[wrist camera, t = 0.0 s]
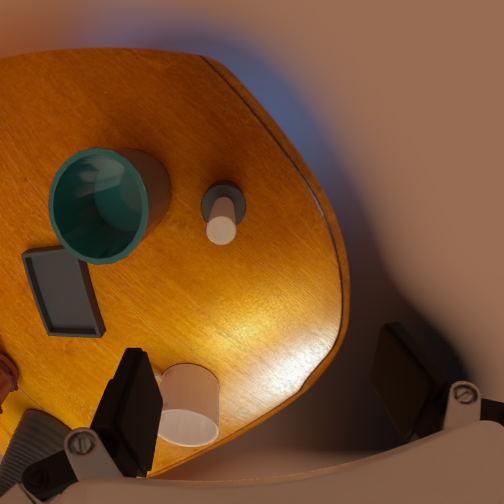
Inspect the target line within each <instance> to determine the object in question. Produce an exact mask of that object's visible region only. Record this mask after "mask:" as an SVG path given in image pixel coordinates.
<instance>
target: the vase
mask: <svg viewBox="0 0 504 504" xmlns="http://www.w3.org/2000/svg"><path fill="white" fill-rule="evenodd" d="M70 431H71V430H69V429H68V428H67V427H66V426H65V425H64V424H62V423H61V422H59V421H58V420H56V419H55V418H53V417H51V416H50V415H48V414H46V413H43V412H41V411H37V410H27V411H25V412H24V413H23V415H22V417H21V419H20V421H19V423H18V425H17V427H16V429H15V431H14V434H13V435H12V438H11V440H10V443H9V445H8V447H7V450H6V452H5V454H4V457H3V459H2V461H1V464H0V497H1V496H2V495H3V494H4V493H5V492H7V491H8V490H9V489H10V488H11V487H12V486H14V485H15V484H16V483H18V484H21V483H22V474H23V472H24V470H25V469H26V468H27V467H28V466H29V465H31V464H33V463H36V462H38V461H40V460H42V459H44V458H46V457H49V456H51V455H53V454H55V453H57V452H59V451H61V450H63V449H64V445H63V444H64V439H65V437H66V435H67V434H68V433H69V432H70Z"/></svg>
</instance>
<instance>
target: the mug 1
mask: <svg viewBox="0 0 504 504" xmlns="http://www.w3.org/2000/svg"><path fill="white" fill-rule="evenodd" d="M17 380H18V371H17V369H16V367H15V365H14V364H13V363H12V362H11V361H10V360H9V359H8V358H7V357H5V356H4V355H2V354H0V414H2V413H3V411H2V409H1V405H2V403H3V401H4V400H5V398H6V397H7V395H8V393H9V392H13V391H14V390H15V391H17V390H18V386H17Z"/></svg>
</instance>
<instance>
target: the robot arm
mask: <svg viewBox="0 0 504 504" xmlns="http://www.w3.org/2000/svg"><path fill="white" fill-rule="evenodd" d="M370 381H371V383H372V385H373V387H374V389H375V390H376V392H377V394H378V396H379V398H380V399H381V401H382V403H383V405H384V406H385V408H386V410H387V412H388V414H389V415H390V417H391V419H392V421H393V423H394V425H395V426H396V428H397V430H398V432H399V434H400V436H401V437H402V438H405V439H406V440H407V442H408V443H409V444H406V445H403V446H400V447H398V448H395V449H392V450H389V451H387V452H383V453H380V454H377V455H374V456H371V457H367V458H364V459H360V460H357V461H353V462H349V463H346V464H342V465H338V466H333V467H329V468H324V469H319V470H314V471H309V472H303V473H298V474H291V475H284V476H277V477H268V478H259V479H247V480H231V481H175V480H158V479H145V478H146V475H147V471H151V469H152V463H153V457H154V452H155V446H156V440H157V435H158V429H159V424H160V419H161V414H162V408H163V398H162V395H161V392H160V390H159V387H158V384H157V381H156V379H155V376H154V373H153V370H152V367H151V364H150V361H149V358H148V355H147V353H146V352H143V351H142V349H141V348H126V350H125V352H124V354H123V357H122V359H121V361H120V364H119V366H118V368H117V370H116V373H115V375H114V377H113V379H111V380H109V382H108V384H107V386H106V389H105V391H104V393H103V396H102V398H101V401H100V403H99V405H98V408H97V410H96V413H95V415H94V418H93V421H92V423H91V426H90V428H86V427H80V428H77V429H74V430H72V431H70V432H69V433H68V434H67V435H66V437H65V439H64V444H63V445H64V449H63V450H61V451H59V452H57V453H55V454H53V455H51V456H49V457H46V458H44V459H42V460H40V461H38V462H36V463H33V464H31V465H29V466H28V467H27V468H26V469H25V470H24V472H23V474H22V483H21V484H18V483H16V484H15V485H14V486H12V487H11V488H10V489H9V490H8V491H7V492H5V493H4V494H3V495H2V496H1V497H0V504H504V403H502V402H497V401H492V400H488V399H483V398H481V394H480V391H479V389H478V388H477V387H476V386H475V385H474V384H472V383H470V382H467V381H459V382H456V383H455V384H453V385H451V384H450V383H449V381H450V380H449V379H448V378H447V376H446V375H445V374H444V373H443V372H442V370H441V369H440V368H439V367H438V366H437V364H436V363H435V362H434V361H433V360H432V359H431V357H430V356H429V355H428V354H427V353H426V352H425V351H424V349H423V348H422V347H421V346H420V345H419V344H418V343H417V341H416V340H415V339H414V338H413V337H412V336H411V335H410V333H409V332H407V330H406V329H405V328H404V327H403V326H402V325H401V323H399V322H398V321H394V322H390V323H385V324H384V326H383V327H382V328H381V329H380V333H379V338H378V343H377V347H376V352H375V356H374V361H373V365H372V369H371V373H370ZM418 439H419V440H418ZM416 440H417V441H416ZM413 441H414V442H413ZM136 477H145V478H136Z"/></svg>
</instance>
